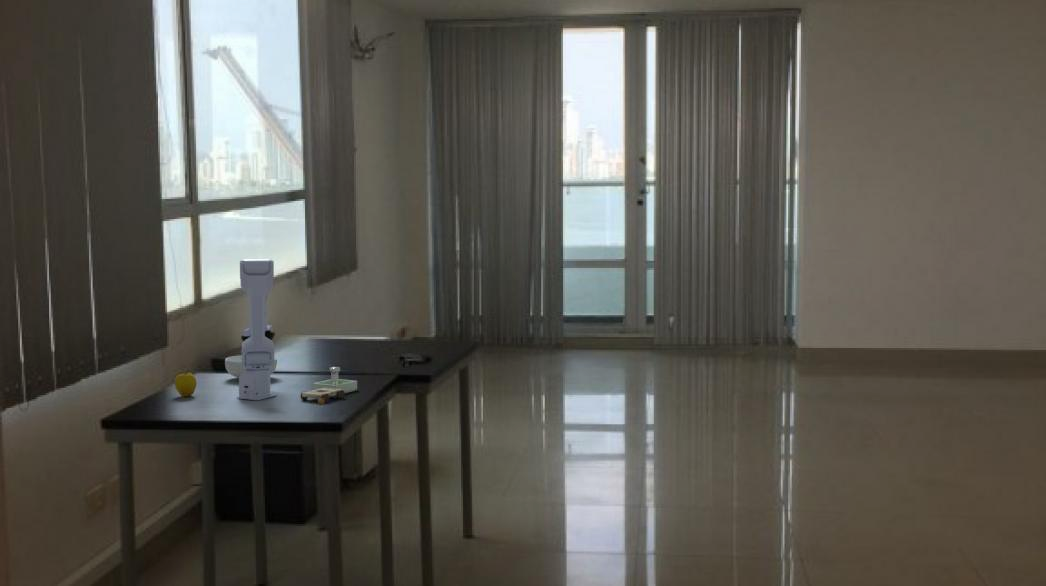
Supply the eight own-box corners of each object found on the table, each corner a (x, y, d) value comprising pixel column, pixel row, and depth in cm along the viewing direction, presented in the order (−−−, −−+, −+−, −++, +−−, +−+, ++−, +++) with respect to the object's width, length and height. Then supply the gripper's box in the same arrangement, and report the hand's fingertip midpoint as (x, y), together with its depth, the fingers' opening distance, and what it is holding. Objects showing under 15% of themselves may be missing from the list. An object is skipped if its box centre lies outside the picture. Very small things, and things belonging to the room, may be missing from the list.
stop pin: (335, 390, 369) (335, 368, 368) (327, 390, 371) (327, 368, 370) (342, 389, 372) (342, 367, 371) (334, 388, 373) (334, 366, 373)
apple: (196, 394, 365) (195, 368, 364) (197, 397, 359) (196, 371, 358) (174, 395, 363) (174, 369, 362) (175, 398, 357) (174, 372, 356)
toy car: (321, 403, 350) (321, 395, 350) (297, 401, 354) (297, 392, 354) (345, 397, 361) (345, 389, 360) (322, 395, 365) (322, 386, 364)
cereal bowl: (230, 384, 384) (229, 362, 383) (221, 376, 399) (220, 356, 398) (282, 381, 391) (281, 360, 390) (271, 374, 406) (271, 353, 405)
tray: (336, 395, 365) (336, 385, 364) (312, 392, 369) (312, 383, 368) (357, 390, 374) (357, 380, 374) (334, 387, 378) (334, 378, 378)
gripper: (257, 316, 365) (257, 360, 366) (280, 312, 379) (281, 354, 380) (237, 315, 367) (237, 358, 369) (261, 311, 381) (261, 352, 382)
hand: (258, 356), depth 375 cm, fingers open, 7 cm apart
